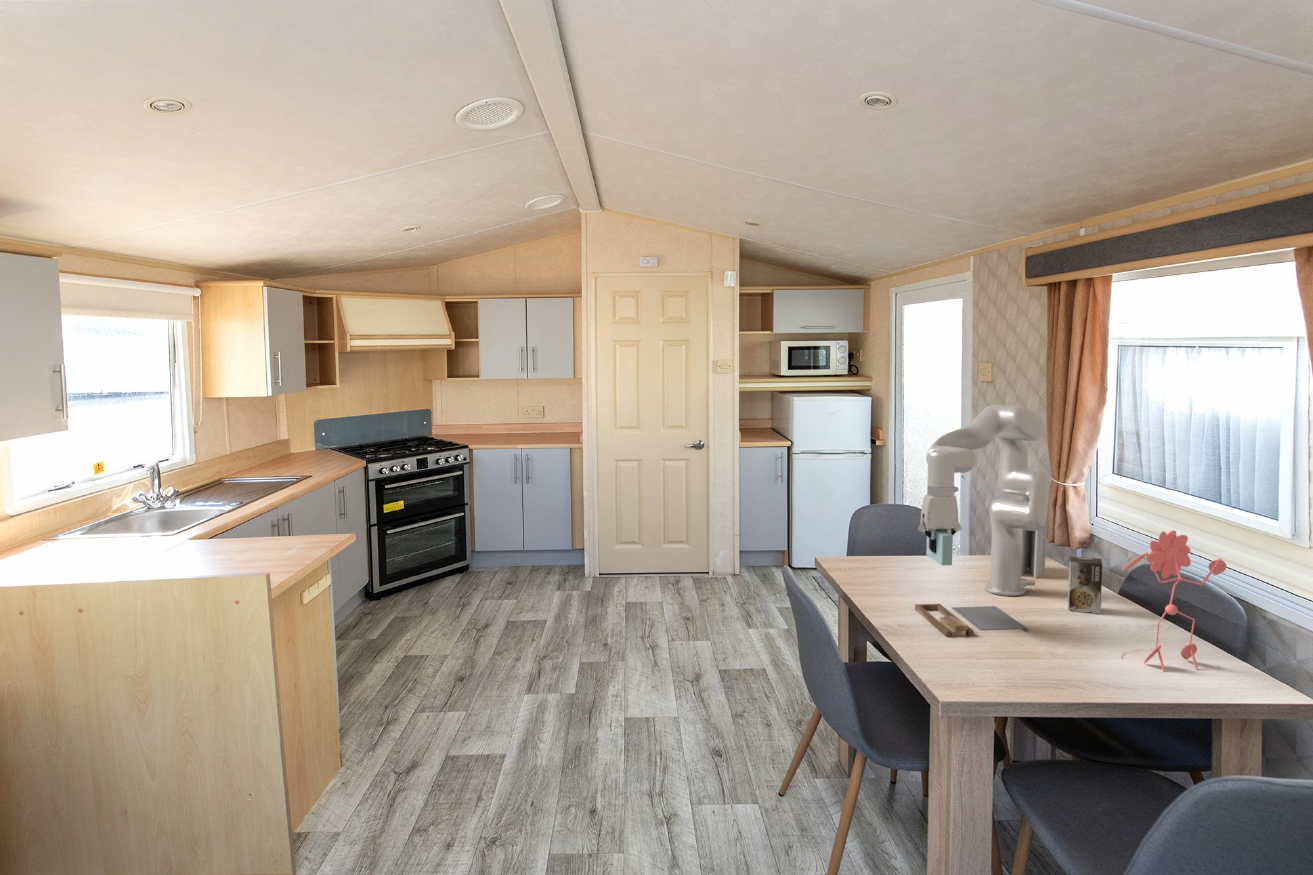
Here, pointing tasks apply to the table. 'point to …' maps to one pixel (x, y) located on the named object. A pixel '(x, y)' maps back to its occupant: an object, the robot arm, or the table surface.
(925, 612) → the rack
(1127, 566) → the figurine
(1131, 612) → the table surface
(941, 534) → the teal rectangular block
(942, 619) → the offcut top
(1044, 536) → the grey upright slab
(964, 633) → the block
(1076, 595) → the coffee box
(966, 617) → the mat
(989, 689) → the table surface
